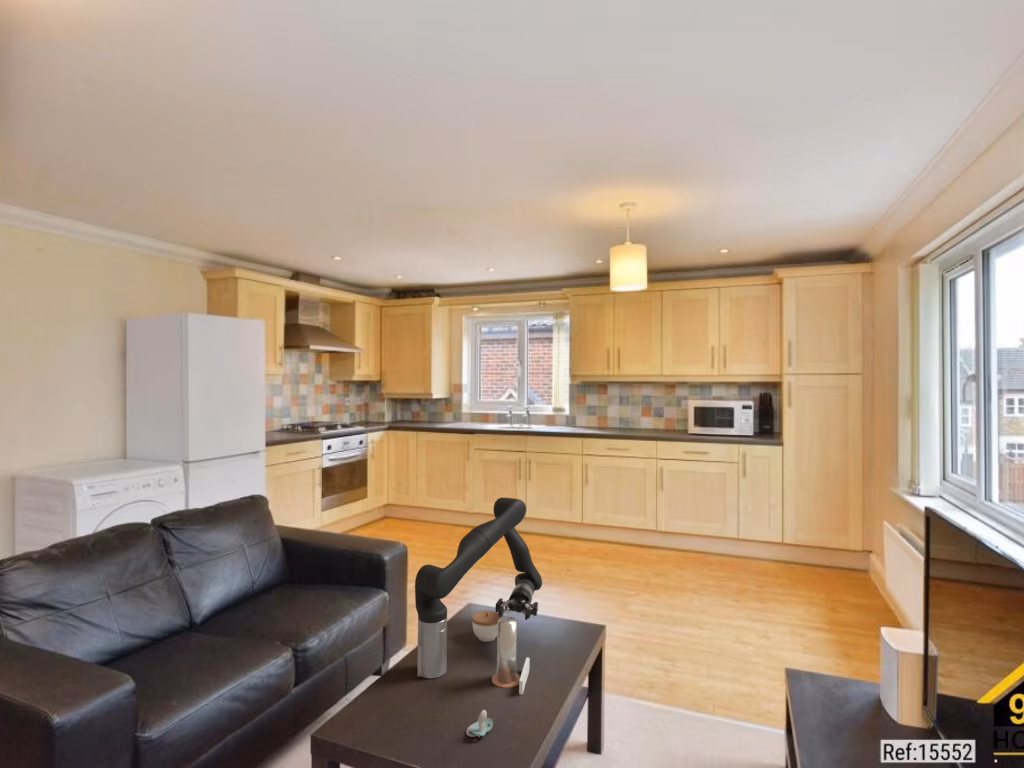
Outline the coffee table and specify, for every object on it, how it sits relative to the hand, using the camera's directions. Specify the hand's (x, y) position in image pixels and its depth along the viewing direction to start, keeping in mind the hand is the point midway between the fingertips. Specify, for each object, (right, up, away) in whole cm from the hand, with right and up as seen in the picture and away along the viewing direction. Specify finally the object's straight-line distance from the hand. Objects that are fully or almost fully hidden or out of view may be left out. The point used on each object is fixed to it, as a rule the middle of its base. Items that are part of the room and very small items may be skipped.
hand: (513, 615), depth 180 cm
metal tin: (-2, -15, -10) cm, 18 cm away
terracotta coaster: (-2, -15, -11) cm, 19 cm away
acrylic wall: (+3, -15, -12) cm, 20 cm away
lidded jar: (-10, -15, +17) cm, 25 cm away
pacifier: (-9, -16, -36) cm, 40 cm away
